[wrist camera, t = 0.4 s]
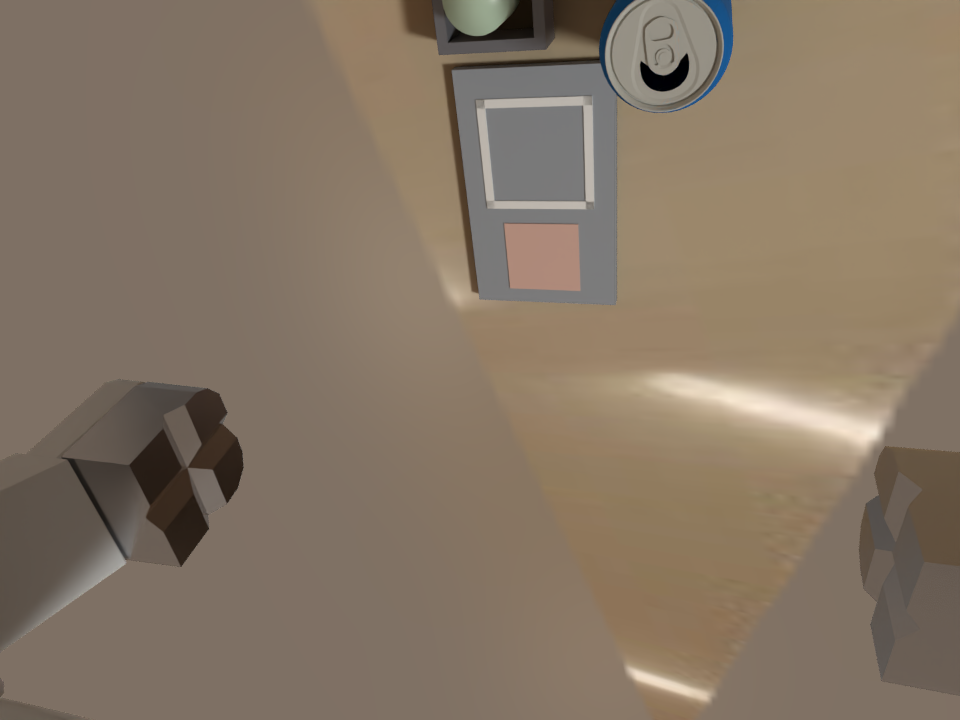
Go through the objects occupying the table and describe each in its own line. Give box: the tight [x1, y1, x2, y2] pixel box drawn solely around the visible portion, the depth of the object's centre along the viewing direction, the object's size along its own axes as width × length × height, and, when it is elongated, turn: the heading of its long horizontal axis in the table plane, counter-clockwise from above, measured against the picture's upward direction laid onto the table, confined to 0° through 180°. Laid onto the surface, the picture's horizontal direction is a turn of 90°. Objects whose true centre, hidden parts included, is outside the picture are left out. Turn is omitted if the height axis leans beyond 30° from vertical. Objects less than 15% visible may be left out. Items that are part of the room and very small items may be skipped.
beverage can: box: [599, 0, 733, 113], centre depth 40 cm, size 6×6×12 cm
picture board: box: [452, 60, 617, 305], centre depth 54 cm, size 18×11×1 cm, turn 6°
